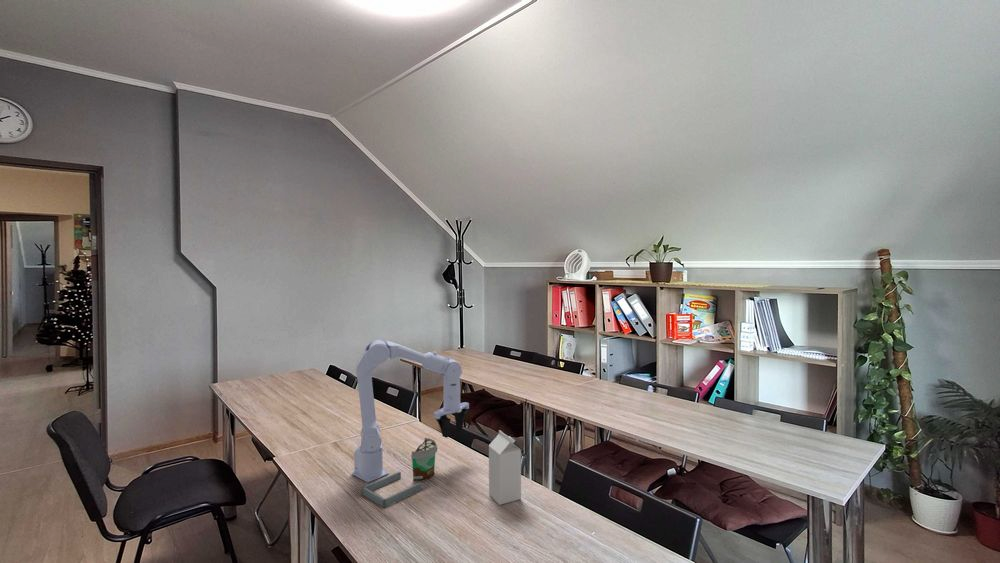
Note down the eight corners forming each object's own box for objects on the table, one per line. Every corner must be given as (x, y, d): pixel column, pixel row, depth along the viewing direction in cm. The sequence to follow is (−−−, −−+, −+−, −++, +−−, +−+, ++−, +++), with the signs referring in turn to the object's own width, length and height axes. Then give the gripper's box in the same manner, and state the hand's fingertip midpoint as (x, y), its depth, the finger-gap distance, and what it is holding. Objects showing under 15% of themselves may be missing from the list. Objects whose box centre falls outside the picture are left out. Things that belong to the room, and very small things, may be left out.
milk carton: (499, 505, 130) (499, 440, 129) (488, 494, 137) (488, 432, 136) (521, 499, 134) (521, 436, 133) (509, 488, 140) (509, 428, 139)
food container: (430, 485, 142) (429, 453, 142) (411, 483, 144) (411, 452, 143) (442, 467, 154) (442, 438, 154) (425, 465, 156) (425, 437, 155)
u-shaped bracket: (361, 493, 137) (361, 487, 137) (399, 477, 148) (399, 471, 147) (384, 507, 130) (384, 500, 129) (422, 489, 140) (422, 482, 140)
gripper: (443, 402, 148) (444, 443, 149) (475, 392, 159) (475, 430, 160) (429, 398, 153) (430, 437, 153) (460, 388, 164) (461, 425, 164)
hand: (452, 433), depth 157 cm, fingers open, 6 cm apart
